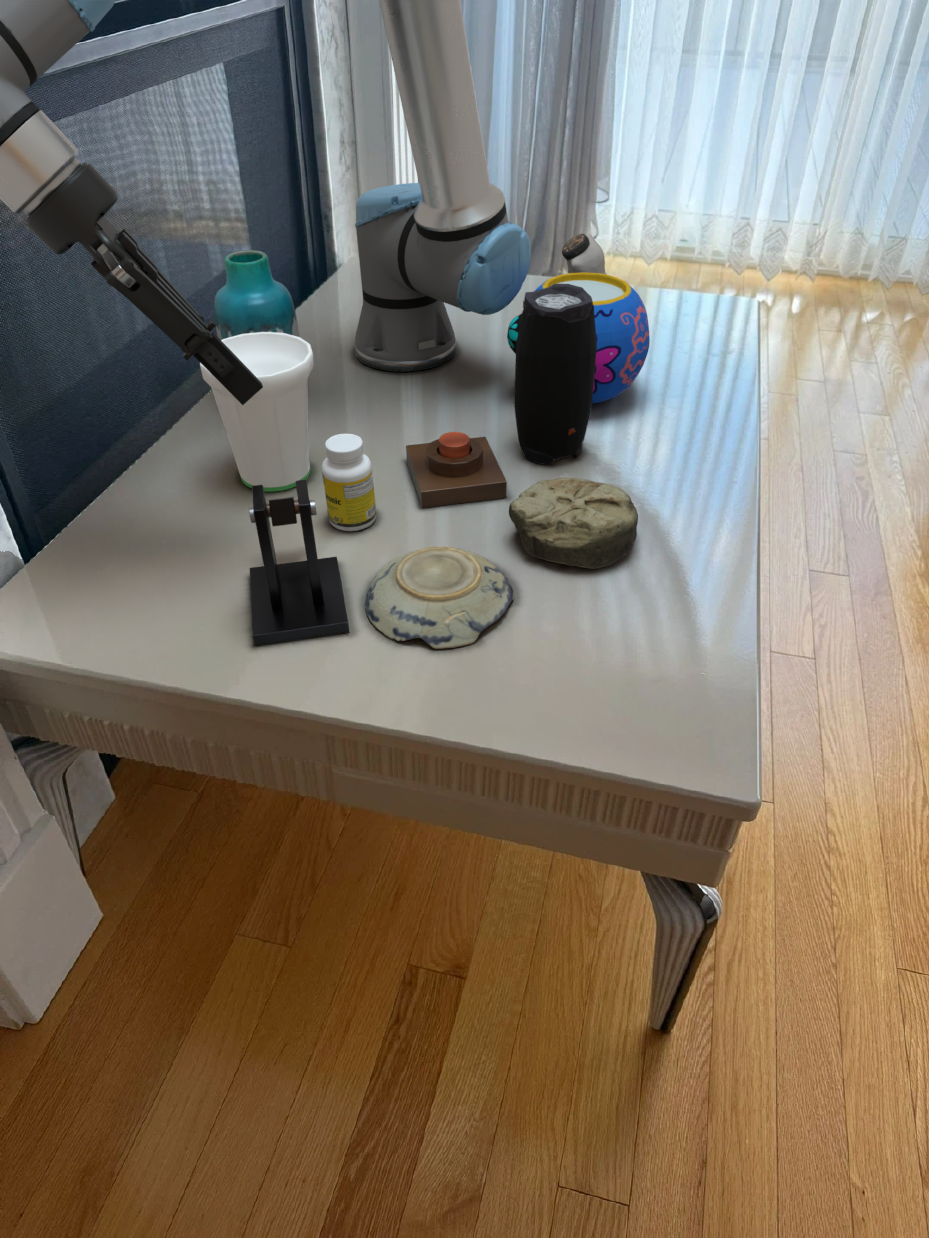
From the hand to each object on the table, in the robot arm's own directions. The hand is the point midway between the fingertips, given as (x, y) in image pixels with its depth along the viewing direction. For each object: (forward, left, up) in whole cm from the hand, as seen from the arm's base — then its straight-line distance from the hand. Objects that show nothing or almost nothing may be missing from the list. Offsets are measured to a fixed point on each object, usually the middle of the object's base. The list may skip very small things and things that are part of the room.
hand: (252, 394), depth 89 cm
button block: (-7, +22, -17) cm, 28 cm away
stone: (+8, +32, -17) cm, 37 cm away
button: (-7, +22, -13) cm, 26 cm away
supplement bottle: (-1, +9, -17) cm, 19 cm away
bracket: (+13, +2, -17) cm, 21 cm away
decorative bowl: (+15, +16, -17) cm, 28 cm away
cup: (-13, +1, -17) cm, 21 cm away
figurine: (-44, +51, -17) cm, 69 cm away
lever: (+9, +2, -9) cm, 13 cm away
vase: (-34, +1, -17) cm, 38 cm away
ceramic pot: (-25, +43, -17) cm, 52 cm away
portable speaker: (-11, +35, -17) cm, 40 cm away
